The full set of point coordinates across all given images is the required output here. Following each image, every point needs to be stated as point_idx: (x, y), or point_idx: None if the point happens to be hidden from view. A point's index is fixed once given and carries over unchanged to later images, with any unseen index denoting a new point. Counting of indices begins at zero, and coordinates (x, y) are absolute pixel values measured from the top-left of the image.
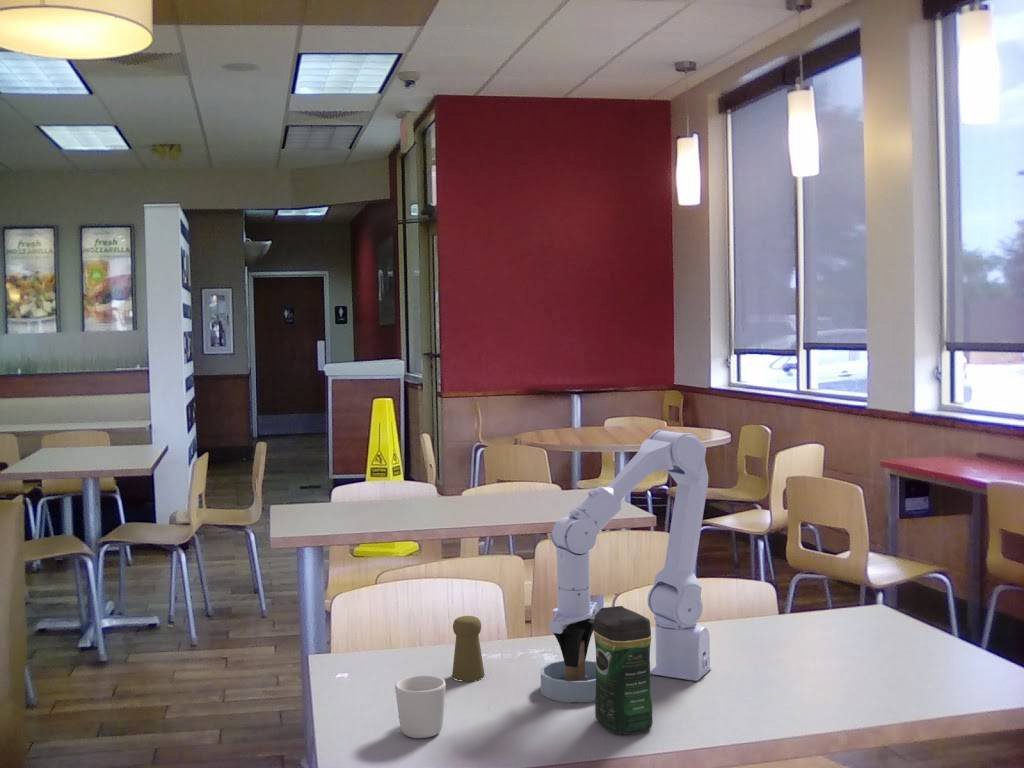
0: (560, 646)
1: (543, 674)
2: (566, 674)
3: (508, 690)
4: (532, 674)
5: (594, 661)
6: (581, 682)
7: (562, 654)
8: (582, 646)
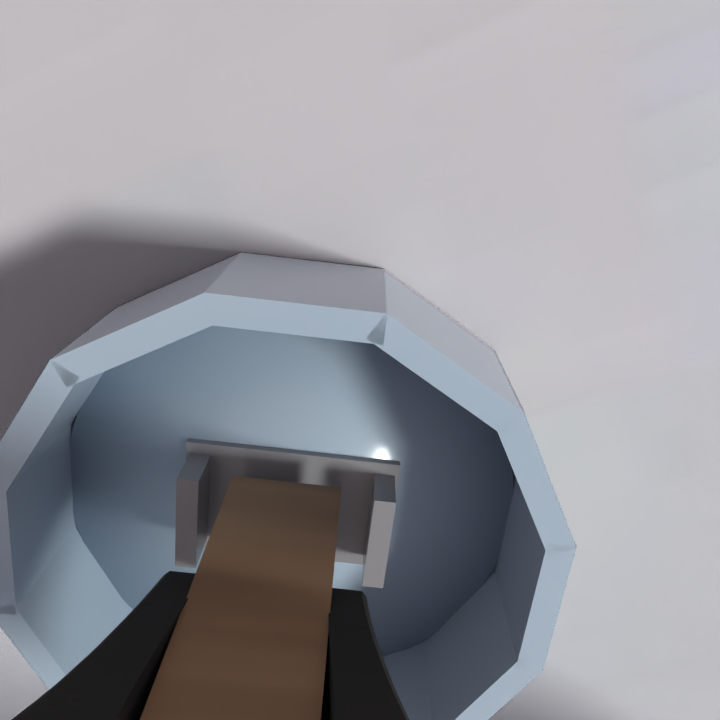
0: (40, 701)
1: (57, 381)
2: (218, 515)
3: (75, 11)
4: (533, 50)
5: (540, 642)
6: (48, 681)
7: (113, 630)
8: None
